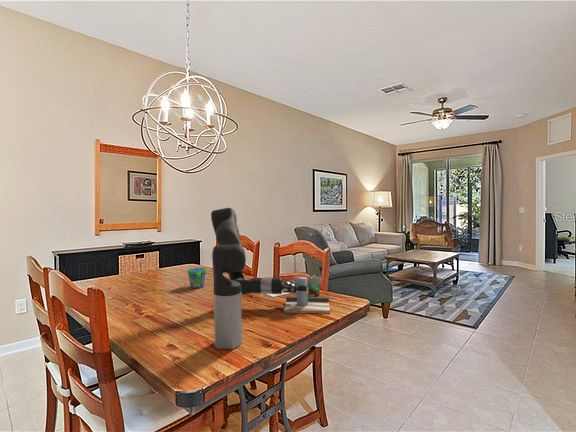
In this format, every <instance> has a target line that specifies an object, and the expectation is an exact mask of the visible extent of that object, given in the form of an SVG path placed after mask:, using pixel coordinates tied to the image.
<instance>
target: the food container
mask: <svg viewBox="0 0 576 432" xmlns="http://www.w3.org/2000/svg"><path fill="white" fill-rule="evenodd" d="M321 282H322V277H321V275H320V274H317V273H311V274H310V276H309V278H308V277H307V290H308V297H320V290H321V289H320V287H321Z"/></svg>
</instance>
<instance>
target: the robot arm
mask: <svg viewBox="0 0 576 432" xmlns="http://www.w3.org/2000/svg"><path fill="white" fill-rule="evenodd" d="M210 217H211V224H212V227H213V230H214V233H215V241H216V244H217V245H215V246H214V247H213V249H212V252H211V253H212V254H211V255H212V256H211V258H212V259H211V260H212V272H213V274H212V275H213V328H214V329H213V331H214V332H213V334H214V346H215V349H219V350H221V349H224V350H230V349H231V350H234V349H235V348H236V347H239V346H240V345H242V343H243V308H242V306H243V301H242V300H243V298H242V295H248V294H263V295H265V294H282V291H283V292H284V293H291V294H297V292H298V291H307V290H308V285H307V286H297V285H296V279H285V281H283V277H282V276H281V277H279V276H278V277H276V276H275V277H272V276H271V277H270V276H269V277H267V276H266V277H251V278H249V279H245V275H244V274H243V270H244V269H245V268H246V267H245V266H246V262H247V260H246V258H247V257H246V252H245V251H246V250H245V249H244V247H243V244H242V241H241V235H240V230H239V228H238V224H237V221H238V220H237V215H236V211H235V210H234V208H231V207H225V208H220V209H215V210H212V211H211V212H210ZM224 273H226V274H228V277H227V276H225V275H224Z"/></svg>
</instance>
